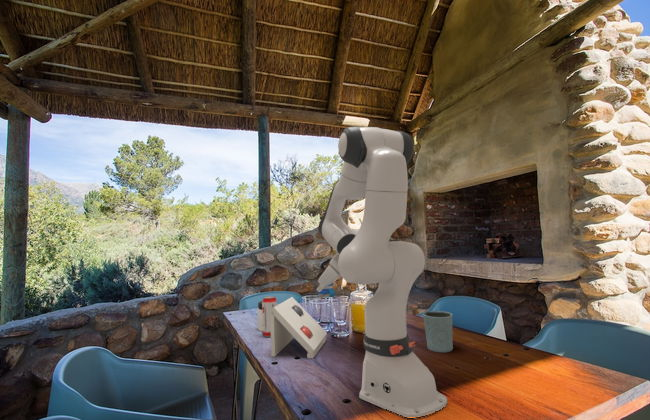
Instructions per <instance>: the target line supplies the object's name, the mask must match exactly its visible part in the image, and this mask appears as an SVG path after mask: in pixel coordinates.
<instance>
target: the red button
mask: <svg viewBox="0 0 650 420" xmlns="http://www.w3.org/2000/svg"><path fill="white" fill-rule="evenodd" d="M300 330H301V331H302V332H303V333H304V334H305V335H306V336H307V337H308V338H310V336H311V335H312V332H311V330H310V329H309V328H308V327H306V326H304V327H303V328H302V329H300Z"/></svg>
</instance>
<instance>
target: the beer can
mask: <svg viewBox="0 0 650 420" xmlns="http://www.w3.org/2000/svg"><path fill="white" fill-rule="evenodd" d="M261 301H262V320H263V332H262V335H263V336H264V337H265V338H271V323H270V311H271V310H272V309H273V308H274V307H275V306H277V305H278V301H277V298H276V296H275V295H267V296H264V297H262V300H261Z"/></svg>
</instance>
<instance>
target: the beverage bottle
mask: <svg viewBox="0 0 650 420" xmlns="http://www.w3.org/2000/svg"><path fill="white" fill-rule="evenodd" d="M319 285H320V283H319V282H318V286H319ZM333 286H334V282H333V283H332V284H330V285H328V286H327V287H325V288H324V289H323V290H322V291H321V292H318V291H317V295H318V297H320V298H321V297H322V298H325V299H327V298H329V297H335V298H336V296H335V295H336V293H335V292H336V291H335V289H334V288H333Z"/></svg>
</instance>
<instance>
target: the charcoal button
mask: <svg viewBox="0 0 650 420" xmlns="http://www.w3.org/2000/svg"><path fill="white" fill-rule="evenodd" d="M293 310H294V311H295V312H296V313H297V314H298V315H299V316H301V315H302V314H303V311H302V309H301V308H300V307H299V306H295V307H294V308H293Z"/></svg>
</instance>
